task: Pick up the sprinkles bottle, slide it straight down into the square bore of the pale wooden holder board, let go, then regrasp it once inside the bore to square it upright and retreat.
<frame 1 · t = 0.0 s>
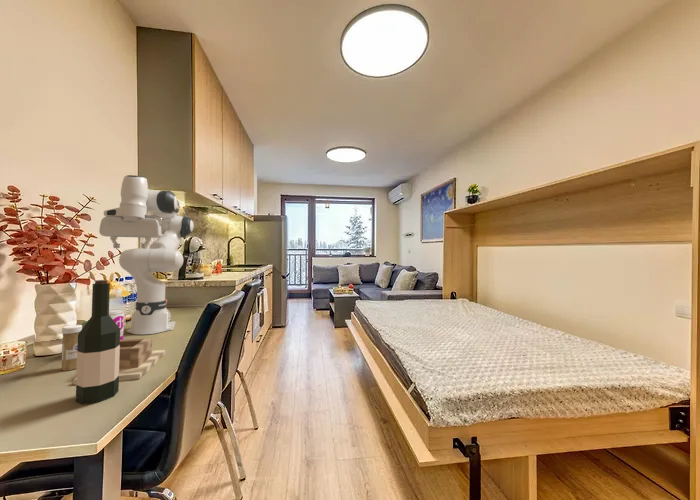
hand: (130, 248, 114), 39 cm above the table, tool pointing down, fingers open, 8 cm apart
holder board: (125, 367, 93), on the table
wine bottle: (97, 396, 74), on the table
supplement can: (108, 351, 108), on the table
sprinkles bottle: (71, 368, 91), on the table
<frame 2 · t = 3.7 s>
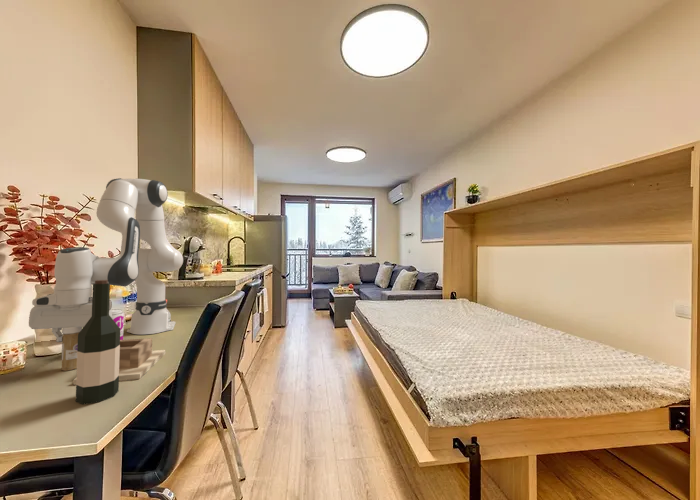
hand: (71, 341, 92), 9 cm above the table, tool pointing down, fingers closed on sprinkles bottle, 4 cm apart
sprinkles bottle: (71, 368, 91), on the table, touching gripper
everything else where it was.
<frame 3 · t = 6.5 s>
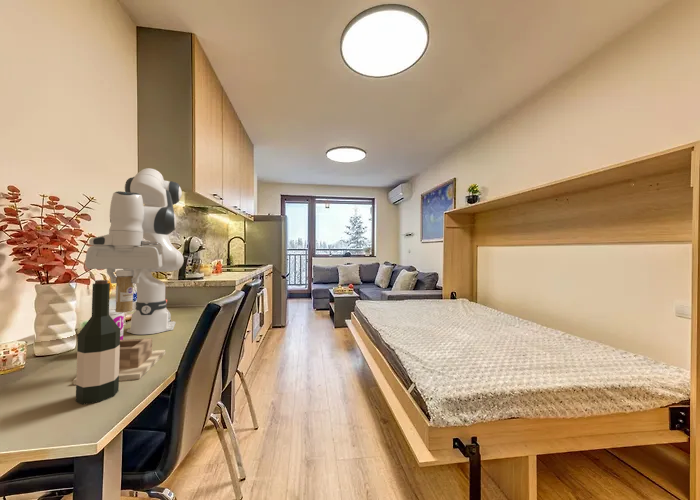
hand: (125, 283, 93), 27 cm above the table, tool pointing down, fingers closed on sprinkles bottle, 4 cm apart
sprinkles bottle: (124, 311, 93), point 18 cm above the table, touching gripper
everything else where it was.
when the fingers open (11 cm above the table, at t = 9.6 s): sprinkles bottle stays where it is, resting on holder board.
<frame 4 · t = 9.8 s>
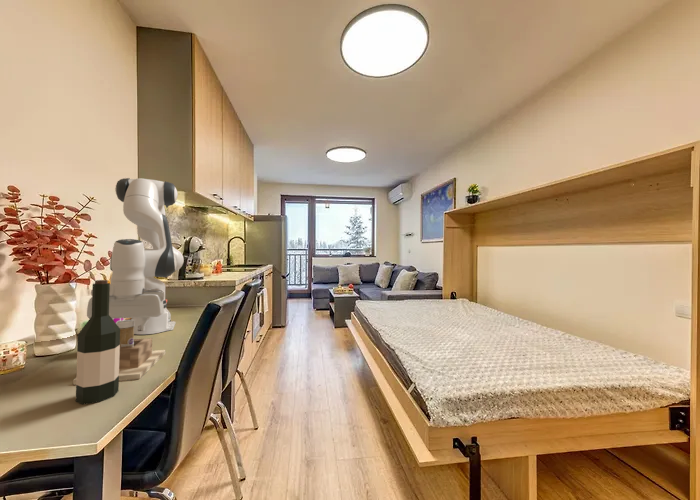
hand: (126, 331, 93), 12 cm above the table, tool pointing down, fingers open, 7 cm apart
sprinkles bottle: (125, 363, 93), point 1 cm above the table, touching holder board
everything else where it was.
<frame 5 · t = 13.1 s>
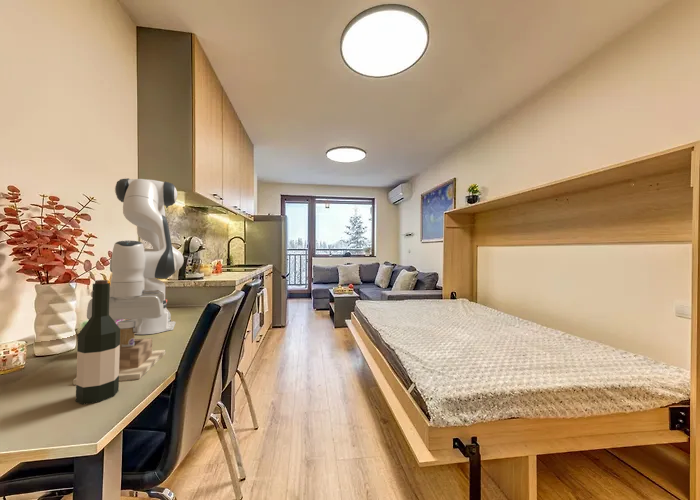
hand: (126, 332, 93), 11 cm above the table, tool pointing down, fingers closed on sprinkles bottle, 4 cm apart
sprinkles bottle: (125, 363, 93), point 1 cm above the table, touching gripper, holder board
everything else where it was.
when the fingers open (11 cm above the table, at t = 14.2 s): sprinkles bottle stays where it is, resting on holder board.
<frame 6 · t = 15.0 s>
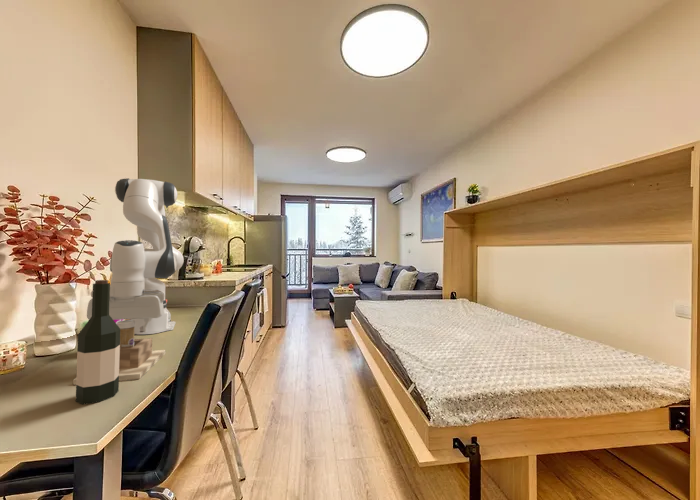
hand: (126, 332, 93), 11 cm above the table, tool pointing down, fingers open, 8 cm apart
sprinkles bottle: (125, 363, 93), point 1 cm above the table, touching holder board
everything else where it was.
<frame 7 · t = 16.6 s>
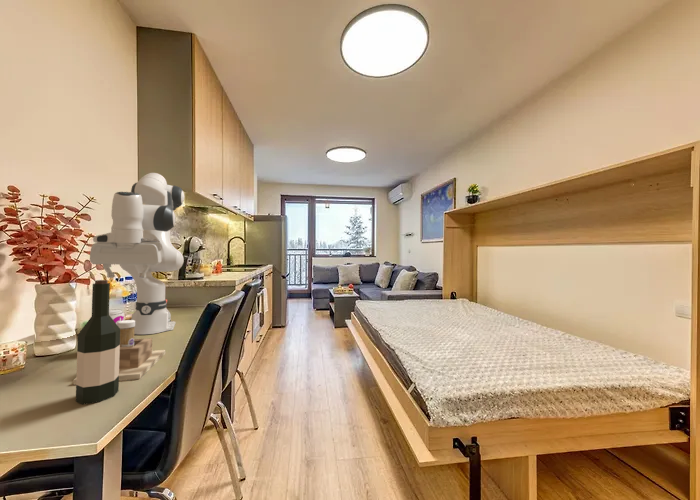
hand: (127, 277, 101), 28 cm above the table, tool pointing down, fingers open, 8 cm apart
nothing on the table moved.
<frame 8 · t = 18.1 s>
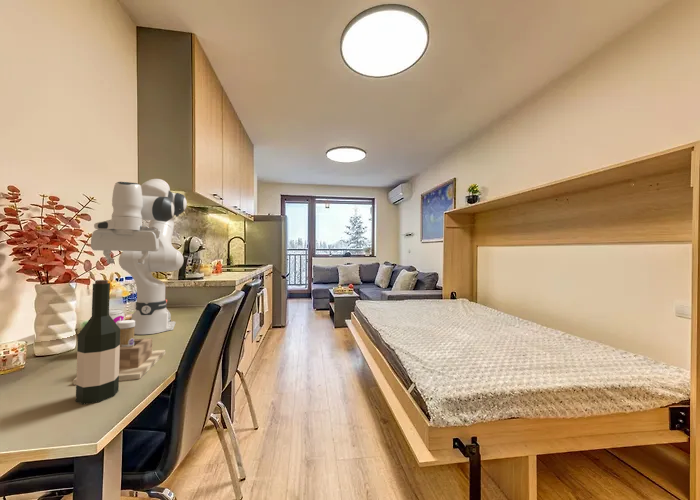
hand: (125, 263, 104), 33 cm above the table, tool pointing down, fingers open, 8 cm apart
nothing on the table moved.
at the end: sprinkles bottle 0.1 cm off-centre on the holder board, point 1.3 cm above the holder board's base; sprinkles bottle tilted 0°; the gripper is holding nothing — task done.
